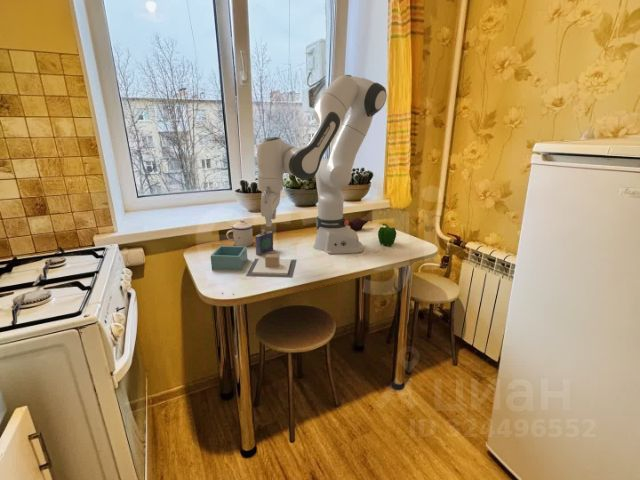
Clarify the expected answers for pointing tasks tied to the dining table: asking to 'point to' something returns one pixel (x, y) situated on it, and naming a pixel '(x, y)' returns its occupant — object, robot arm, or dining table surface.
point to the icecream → (357, 224)
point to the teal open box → (229, 258)
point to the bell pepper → (386, 235)
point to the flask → (264, 242)
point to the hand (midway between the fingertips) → (271, 222)
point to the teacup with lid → (242, 234)
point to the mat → (290, 275)
